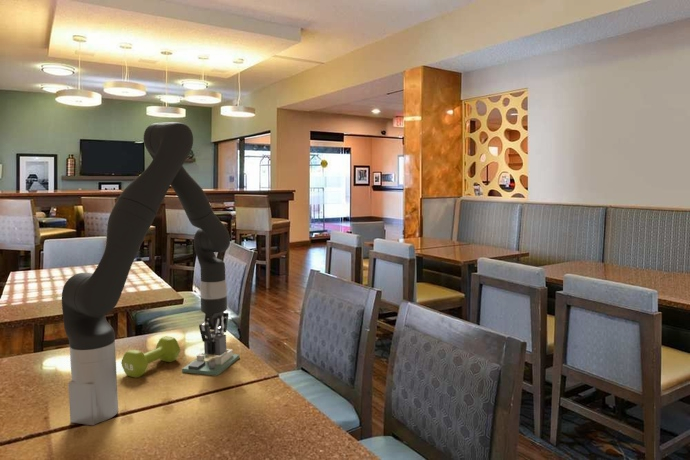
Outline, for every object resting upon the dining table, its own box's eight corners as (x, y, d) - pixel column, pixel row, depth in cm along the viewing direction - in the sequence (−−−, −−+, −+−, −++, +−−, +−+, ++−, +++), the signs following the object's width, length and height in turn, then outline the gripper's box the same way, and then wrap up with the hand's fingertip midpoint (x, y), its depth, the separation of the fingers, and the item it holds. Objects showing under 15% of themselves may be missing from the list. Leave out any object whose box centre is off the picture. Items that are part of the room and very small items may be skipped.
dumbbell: (139, 381, 131) (138, 355, 131) (118, 375, 135) (117, 350, 134) (183, 360, 146) (182, 337, 145) (163, 356, 150) (163, 333, 149)
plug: (220, 355, 142) (219, 339, 141) (203, 354, 143) (202, 337, 143) (226, 350, 146) (225, 334, 145) (209, 349, 147) (209, 333, 147)
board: (217, 375, 135) (217, 365, 134) (182, 372, 137) (181, 361, 137) (239, 357, 148) (239, 348, 148) (207, 354, 151) (206, 345, 150)
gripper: (213, 301, 135) (215, 361, 137) (236, 290, 149) (237, 344, 150) (189, 300, 136) (191, 358, 138) (213, 288, 150) (215, 342, 152)
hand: (215, 350), depth 144 cm, fingers closed on plug, 4 cm apart
